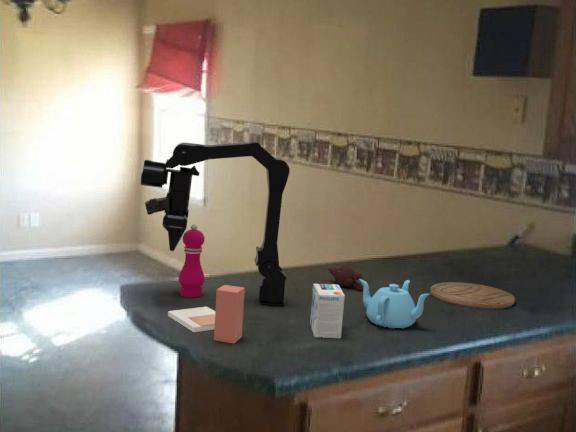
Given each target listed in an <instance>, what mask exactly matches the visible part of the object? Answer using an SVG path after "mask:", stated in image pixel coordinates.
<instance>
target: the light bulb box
mask: <svg viewBox="0 0 576 432" xmlns="http://www.w3.org/2000/svg"><path fill="white" fill-rule="evenodd" d="M345 297H346V294H345V293H344V292H343V290H342V288H341V286H339V285H337V283H336V284H335V283H333V284H330V283H329V284H328V283H313V284H312V296H311V309H310V321H309V325H310V327H311V328H310V329H311V331H312V333H313V337H314V338H321V337H322V339H323V338H324V339H325V338H326V339H342V330H343V329H342V328H343V316H344V306H345V299H346V298H345Z"/></svg>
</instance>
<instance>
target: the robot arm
mask: <svg viewBox="0 0 576 432" xmlns="http://www.w3.org/2000/svg"><path fill="white" fill-rule="evenodd" d="M243 157H244V158H245V157H252V158H254V160H256V161H257V163H259V164H260V165H262V167H264V169H266V170H265V171H266V173H265V174H266V183H267V200H266V201H267V202H266V211H265V219H264V230H263V239H262V243H261V246H258V245H257V246H255V253H256V254H255V258H254V259H253V260H254V262H255V266H256V267H257V270H258V273H259V274H260V275H261V276H262V277H263V278H262V280H261V281H262V283H260V285H259V291H258V292H259V295H258V301H260V303H259V304H260V305H269V306H285V299H286V298H285V293H286V292H285V291H286V280H287V276H286V273H285V271H284V270H283V268H282V267H281V266H280V261H279V259H280V258H279V248H278V239H279V229H280V219H281V211H282V201H283V194H284V191H285V188H286V185H287V183H288V179H289V176H290V166H289V164H288V163H287V161H285V160H283V159H282V158H280V157H274V156H273V155H272V154H271V153H270V152H268V151H267V150H266V149H265V148H263V146H262V145H261V144H260V143H259V142H258V141H256V140H251V141H247V142H244V141H242V142H234V143H221V144H220V143H219V144H218V143H217V144H200V143H194V142H193V143H191V142H180V143H178V144H177V145H175V147H174V149H173V151H172V155H171V157H169V159H166V161H165V162H159V161H154V160H149V159H145V160H143V168H142V171H141V175H140V186H147V187H153V188H159V189H160V188H161V189H163V186H164V185H168V178H169V177H170V178H169V185H168V191H167V194H166V196H164V197H159V198H157V197H154V198H150V199H149V200H146V201H145V202H144V205H145V210H146V214H147V215H153V214H155V213H159V212H163V213H164V215H163V218H162V223H161V224H162V227H163V228H164V230H165V231H167V236H168V246H169V251H170V252H175V250H176V248H177V246H178V244H179V243H180V240H181V239H182V238H183V235H184V233H185V232H186V231H187V226H188V218H189V211H190V210H189V205H190V198H191V189H192V181H193V176H196V177H199V176H200V171H199V170H197V168H196V164H198V163H202V162H205V161H209V160H218V159H219V160H220V159H232V158H243ZM190 165H193V166H192V167H187V166H190ZM179 166H180V167H179ZM176 167H179V169H175V168H176ZM169 173H170V174H169ZM169 175H170V176H169Z"/></svg>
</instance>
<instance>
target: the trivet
mask: <svg viewBox="0 0 576 432" xmlns="http://www.w3.org/2000/svg"><path fill="white" fill-rule="evenodd" d="M429 292H431V293H430V296H431V295H433V296H434V297H435V298H437V299H440V300H442V301H445V302H448V303H453V304H457V305H461V306H468V307H475V308H505V307H509V306H512V305H513V304H514V305H515V302H516V298H515V296H514V295H513V294H512V293H510V292H508V291H505V290H503V289H500V288H497V287H494V286H488V285H484V284H478V283H471V282H470V283H469V282H456V281H455V282H454V281H449V282H439V283H436V284H433V285H432V286H431V287H430V291H429ZM433 296H432V297H433ZM434 297H433V298H434ZM435 298H434V299H435ZM437 299H436V300H437ZM440 300H439V301H440ZM442 301H441V302H442ZM445 302H444V303H445ZM448 303H447V304H448ZM512 307H513V306H512Z"/></svg>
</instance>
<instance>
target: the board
mask: <svg viewBox="0 0 576 432" xmlns="http://www.w3.org/2000/svg"><path fill="white" fill-rule="evenodd" d="M167 317H169V318H170V319H172V320H174V322H177V323H178V324H180V325H182V326H183V327H185V328H186V329H188V330H189V331H191V332H192V333H199V332H206V331H212V330H213V331H214V328H215V310H214V309H212V308H210V307H209V306H200V307H192V308H184V309H176V310H175V309H173V310H169V311H167Z"/></svg>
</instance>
